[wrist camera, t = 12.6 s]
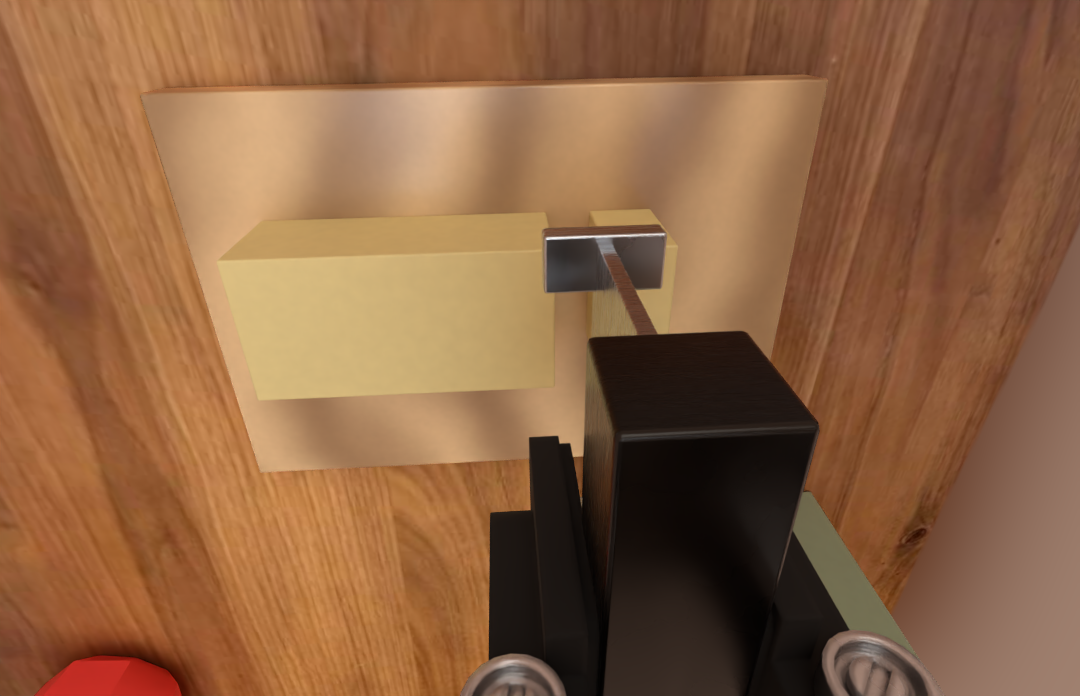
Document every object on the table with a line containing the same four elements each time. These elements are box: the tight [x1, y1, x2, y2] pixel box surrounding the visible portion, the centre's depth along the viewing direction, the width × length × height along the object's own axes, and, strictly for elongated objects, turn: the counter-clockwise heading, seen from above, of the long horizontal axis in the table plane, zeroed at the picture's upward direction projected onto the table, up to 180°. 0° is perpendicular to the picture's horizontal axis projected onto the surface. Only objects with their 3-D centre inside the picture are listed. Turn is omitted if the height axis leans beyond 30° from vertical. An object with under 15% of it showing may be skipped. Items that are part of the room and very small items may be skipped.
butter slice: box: [586, 209, 678, 340], centre depth 19 cm, size 2×4×4 cm, turn 1°
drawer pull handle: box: [542, 224, 819, 696], centre depth 11 cm, size 2×9×7 cm, turn 1°
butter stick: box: [217, 212, 555, 401], centre depth 19 cm, size 9×4×4 cm, turn 91°
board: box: [140, 74, 828, 473], centre depth 21 cm, size 20×14×2 cm
